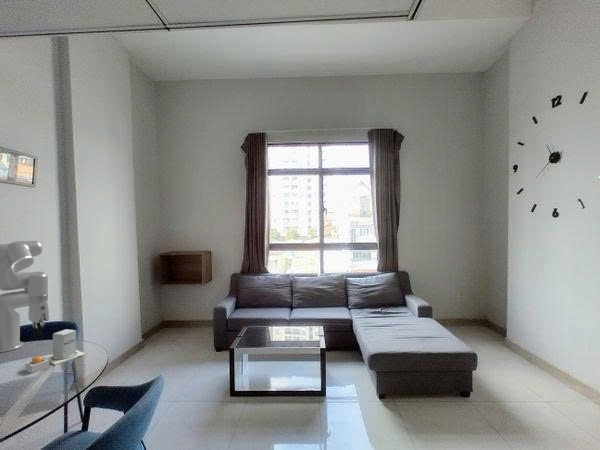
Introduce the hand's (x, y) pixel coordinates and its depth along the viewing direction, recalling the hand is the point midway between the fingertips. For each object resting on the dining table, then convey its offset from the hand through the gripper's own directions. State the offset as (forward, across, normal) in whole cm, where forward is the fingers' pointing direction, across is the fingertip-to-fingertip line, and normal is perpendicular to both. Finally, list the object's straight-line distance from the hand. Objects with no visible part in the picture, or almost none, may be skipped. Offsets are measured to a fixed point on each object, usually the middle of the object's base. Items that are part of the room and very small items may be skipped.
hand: (37, 335), depth 151 cm
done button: (+14, +1, 0) cm, 14 cm away
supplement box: (+16, +4, -13) cm, 21 cm away
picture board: (+17, +4, -13) cm, 21 cm away
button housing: (+17, +1, 0) cm, 17 cm away
